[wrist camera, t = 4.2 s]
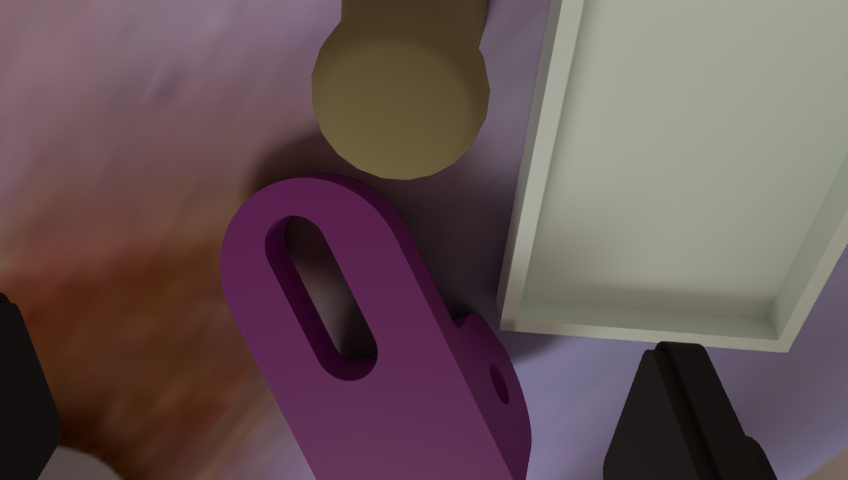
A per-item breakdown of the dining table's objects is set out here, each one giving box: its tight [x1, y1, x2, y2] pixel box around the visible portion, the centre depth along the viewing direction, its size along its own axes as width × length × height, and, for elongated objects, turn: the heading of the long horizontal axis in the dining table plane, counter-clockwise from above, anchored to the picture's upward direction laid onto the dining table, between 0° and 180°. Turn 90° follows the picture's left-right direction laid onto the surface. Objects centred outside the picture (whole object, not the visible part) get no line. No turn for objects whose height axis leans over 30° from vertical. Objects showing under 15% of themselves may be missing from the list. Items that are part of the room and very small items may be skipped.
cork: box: [312, 0, 490, 180], centre depth 22 cm, size 6×6×11 cm
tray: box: [496, 0, 848, 353], centre depth 29 cm, size 20×15×2 cm
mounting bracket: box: [220, 173, 532, 480], centre depth 35 cm, size 9×8×18 cm
